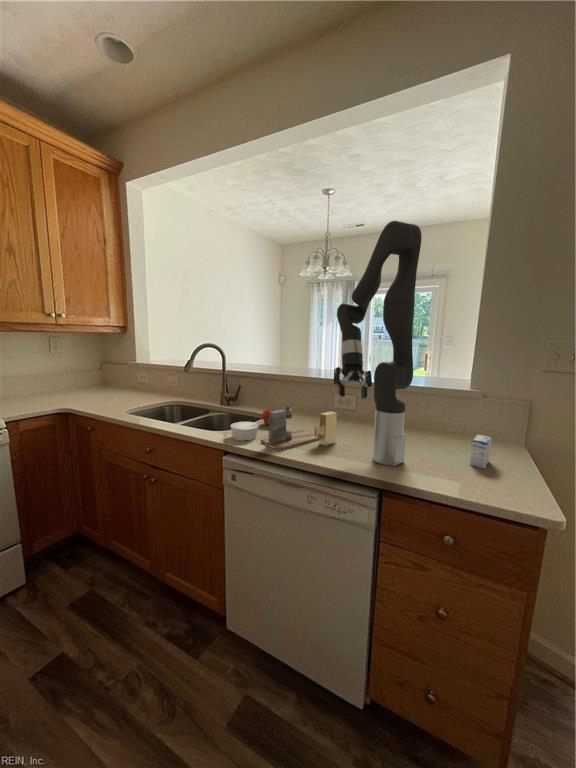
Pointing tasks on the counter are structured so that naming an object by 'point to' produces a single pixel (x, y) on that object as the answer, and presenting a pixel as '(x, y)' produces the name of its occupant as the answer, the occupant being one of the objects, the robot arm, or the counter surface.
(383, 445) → the robot arm
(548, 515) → the counter surface
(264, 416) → the dragon fruit
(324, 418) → the pale yellow flat block
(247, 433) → the ramekin
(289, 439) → the hinge base
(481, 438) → the medicine box
